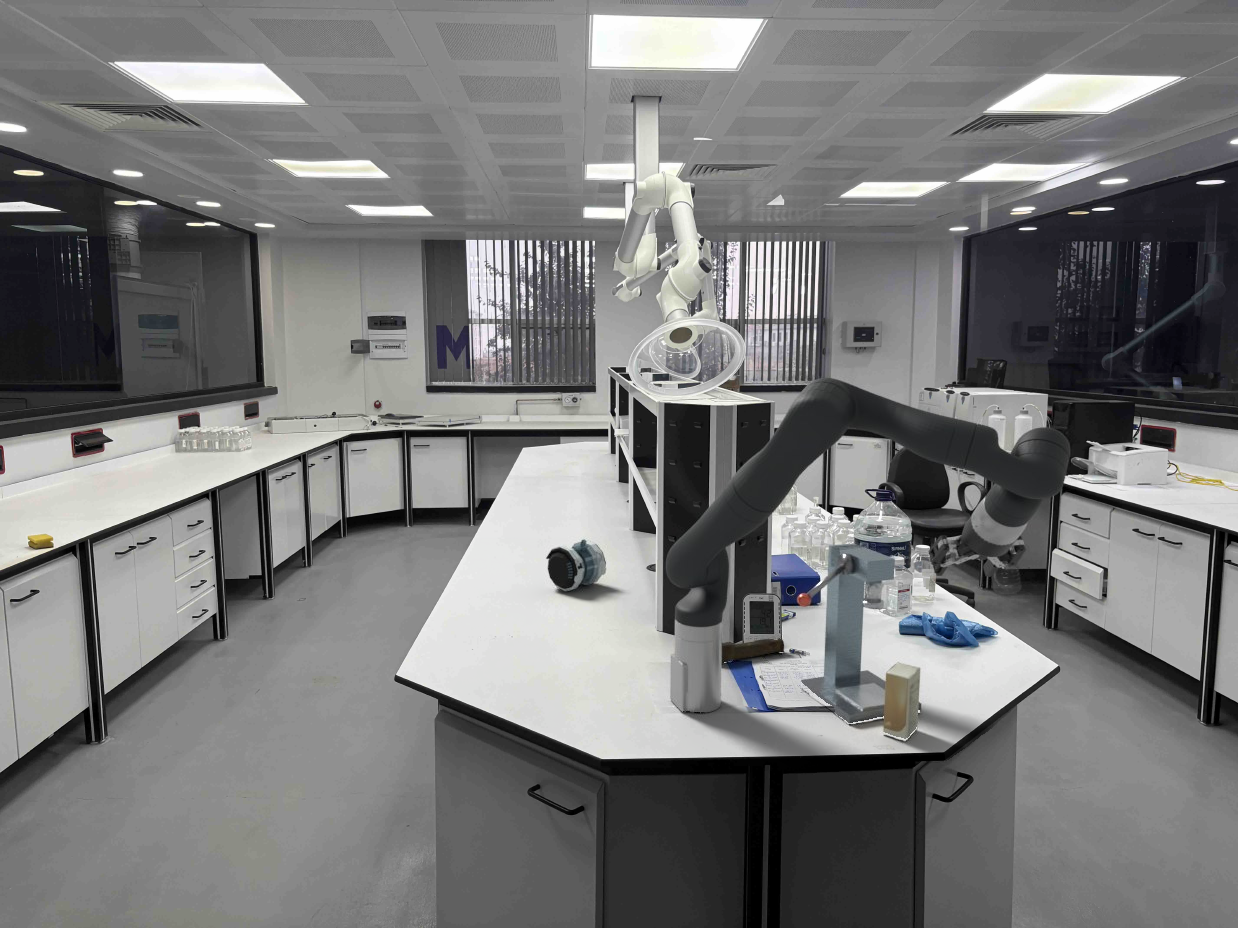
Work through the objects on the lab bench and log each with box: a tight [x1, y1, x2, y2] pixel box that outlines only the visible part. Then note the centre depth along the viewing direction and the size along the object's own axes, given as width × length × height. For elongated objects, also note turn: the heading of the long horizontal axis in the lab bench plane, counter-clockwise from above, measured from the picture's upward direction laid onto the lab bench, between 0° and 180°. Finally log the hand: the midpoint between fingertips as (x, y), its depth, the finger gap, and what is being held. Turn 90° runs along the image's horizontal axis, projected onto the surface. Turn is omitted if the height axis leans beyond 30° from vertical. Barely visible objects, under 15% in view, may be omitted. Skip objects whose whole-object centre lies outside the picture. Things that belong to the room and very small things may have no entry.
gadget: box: [545, 538, 607, 592], centre depth 234 cm, size 14×13×15 cm
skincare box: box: [882, 662, 921, 739], centre depth 145 cm, size 6×4×12 cm
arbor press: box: [796, 542, 922, 723], centre depth 156 cm, size 22×17×30 cm
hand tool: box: [722, 637, 785, 663], centre depth 181 cm, size 19×4×5 cm, turn 111°
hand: (962, 571), depth 140 cm, fingers open, 8 cm apart
